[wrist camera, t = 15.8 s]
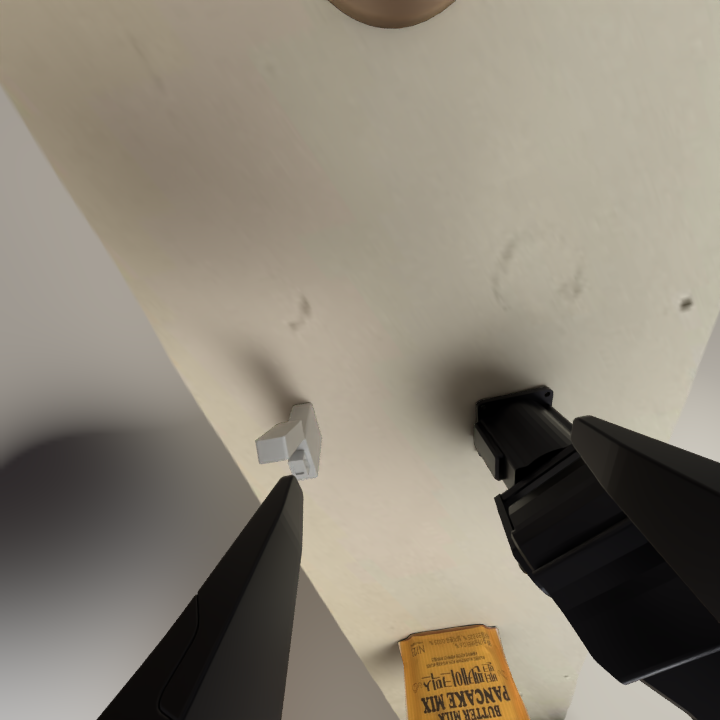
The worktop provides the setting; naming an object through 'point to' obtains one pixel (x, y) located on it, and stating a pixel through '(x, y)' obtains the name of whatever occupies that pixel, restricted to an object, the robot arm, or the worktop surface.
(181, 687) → the robot arm
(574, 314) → the worktop surface
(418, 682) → the pancake mix bag
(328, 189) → the worktop surface
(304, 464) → the lighter
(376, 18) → the bronze round coaster
